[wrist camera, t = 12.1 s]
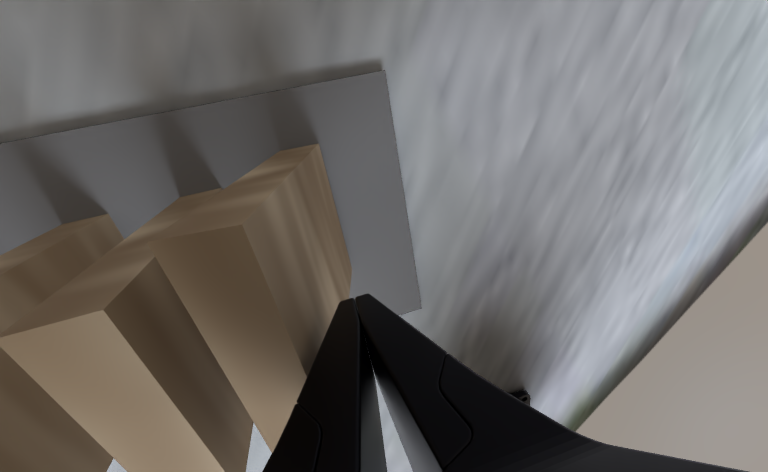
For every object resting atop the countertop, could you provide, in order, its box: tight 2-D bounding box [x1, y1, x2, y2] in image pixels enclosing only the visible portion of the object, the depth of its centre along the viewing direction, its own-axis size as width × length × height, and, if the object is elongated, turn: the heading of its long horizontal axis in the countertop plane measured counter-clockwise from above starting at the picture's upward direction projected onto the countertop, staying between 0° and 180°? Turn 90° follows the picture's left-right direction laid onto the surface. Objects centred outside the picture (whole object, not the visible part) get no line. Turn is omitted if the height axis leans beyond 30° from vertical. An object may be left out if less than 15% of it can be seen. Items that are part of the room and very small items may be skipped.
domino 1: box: [0, 214, 124, 472], centre depth 9 cm, size 2×6×8 cm, turn 11°
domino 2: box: [0, 188, 253, 472], centre depth 10 cm, size 2×6×8 cm, turn 11°
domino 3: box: [147, 144, 352, 453], centre depth 10 cm, size 2×6×8 cm, turn 10°
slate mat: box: [0, 70, 422, 315], centre depth 13 cm, size 25×12×1 cm, turn 101°
